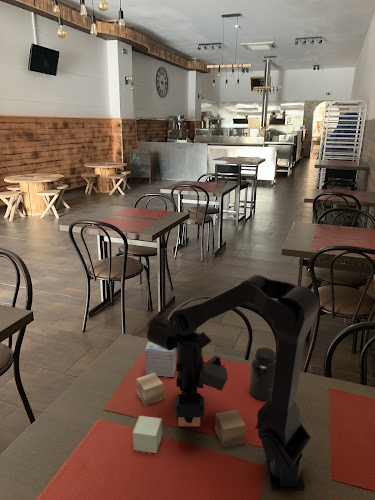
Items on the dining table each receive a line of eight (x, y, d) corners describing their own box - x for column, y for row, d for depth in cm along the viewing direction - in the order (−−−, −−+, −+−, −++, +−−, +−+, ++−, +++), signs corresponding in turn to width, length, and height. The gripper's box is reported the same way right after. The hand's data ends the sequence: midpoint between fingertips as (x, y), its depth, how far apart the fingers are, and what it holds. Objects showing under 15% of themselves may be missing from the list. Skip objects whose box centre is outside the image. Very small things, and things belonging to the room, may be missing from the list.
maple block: (163, 399, 99) (162, 383, 98) (145, 406, 97) (144, 389, 95) (155, 388, 103) (154, 372, 102) (137, 394, 101) (136, 378, 99)
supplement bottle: (278, 401, 98) (282, 360, 95) (251, 401, 99) (253, 360, 95) (273, 384, 105) (276, 345, 101) (247, 383, 105) (249, 344, 101)
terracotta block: (200, 426, 90) (200, 408, 88) (178, 426, 90) (178, 408, 88) (199, 410, 95) (199, 393, 93) (178, 410, 95) (178, 393, 93)
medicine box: (175, 369, 111) (175, 342, 108) (173, 378, 107) (173, 351, 104) (148, 367, 112) (147, 340, 109) (145, 377, 108) (144, 349, 105)
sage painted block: (156, 454, 83) (155, 435, 81) (133, 451, 84) (132, 432, 82) (162, 436, 88) (161, 418, 86) (140, 433, 89) (139, 415, 87)
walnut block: (244, 443, 86) (245, 425, 84) (222, 448, 85) (223, 429, 83) (235, 426, 90) (236, 409, 89) (215, 431, 89) (215, 413, 88)
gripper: (229, 383, 78) (227, 445, 83) (222, 334, 96) (220, 388, 101) (173, 383, 78) (174, 445, 83) (176, 334, 96) (177, 388, 101)
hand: (189, 414), depth 92 cm, fingers closed on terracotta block, 5 cm apart
